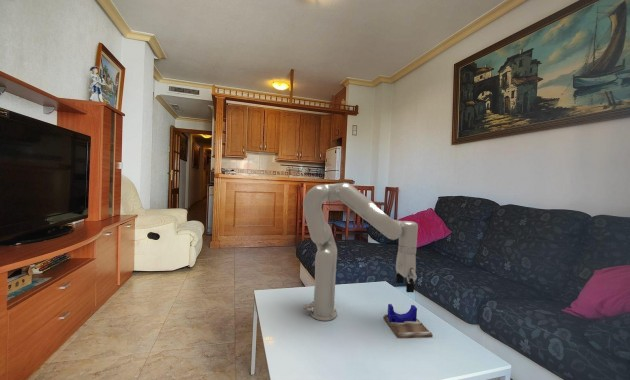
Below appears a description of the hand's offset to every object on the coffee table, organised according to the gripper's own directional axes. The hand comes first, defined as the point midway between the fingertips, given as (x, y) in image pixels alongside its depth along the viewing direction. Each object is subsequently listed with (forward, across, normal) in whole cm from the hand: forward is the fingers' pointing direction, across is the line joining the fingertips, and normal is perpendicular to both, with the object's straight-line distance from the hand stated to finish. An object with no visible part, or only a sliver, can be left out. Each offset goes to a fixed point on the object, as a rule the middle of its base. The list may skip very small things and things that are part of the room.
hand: (404, 287), depth 116 cm
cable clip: (+15, 0, 0) cm, 15 cm away
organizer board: (+16, +4, 0) cm, 16 cm away
